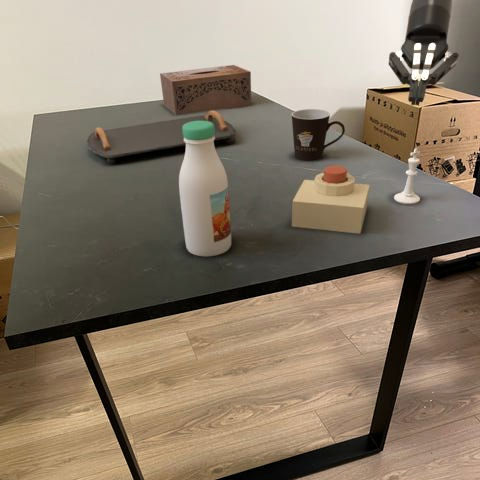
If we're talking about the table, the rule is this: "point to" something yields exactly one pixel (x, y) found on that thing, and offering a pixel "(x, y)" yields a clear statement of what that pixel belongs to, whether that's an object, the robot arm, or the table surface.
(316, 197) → the button base
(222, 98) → the tissue box cover
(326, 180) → the lid button
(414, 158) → the chess piece
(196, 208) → the milk bottle
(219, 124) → the serving tray
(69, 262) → the table surface
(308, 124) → the coffee mug
